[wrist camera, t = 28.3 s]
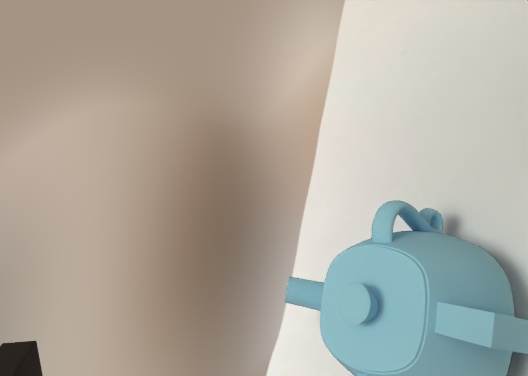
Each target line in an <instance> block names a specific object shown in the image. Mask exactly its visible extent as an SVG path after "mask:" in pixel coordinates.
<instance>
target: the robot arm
mask: <svg viewBox="0 0 528 376" xmlns="http://www.w3.org/2000/svg"><path fill="white" fill-rule="evenodd" d="M0 376H42V371H41V365H40V359H39V354H38V348H37V343H36V341H28V342H15V343H3V344H2V345H1V346H0Z"/></svg>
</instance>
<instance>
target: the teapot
mask: <svg viewBox="0 0 528 376" xmlns="http://www.w3.org/2000/svg"><path fill="white" fill-rule="evenodd" d="M397 214H398V215H399V216H400V217H401V218H402V219H403V220H404V221H405V222H406V223H407V224H408V226H409V227H410V228H411V229H412V230H413V231H401V232H395V233H393V225H394V221H395V218H396V216H397ZM442 230H443V220H442V216H441V214H440V213H439V212H438V211H436V210H434V209H430V208H426V209H423V210H421V211H420V212H418V211H417V210H416V209H415V208H414V207H413V206H411V205H410V204H408V203H406V202H403V201H389V202H387V203H385V204H383V205H382V206H381V207H380V208H379V209H378V211H377V213H376V215H375V217H374V220H373V224H372V238H371V239H368V240H366V241H363V242H361V243H358V244H356V245H354V246H352V247H350V248H348V249H346V250H345V251H343V252H342V253H340V254H339V255H338V256H337V257H336V258H335V259H334V260H333V261H332V263H331V265H330V267H329V269H328V272H327V275H326V279H325V283H322V282H317V281H311V280H305V279H299V278H293V277H289V280H288V285H287V290H286V296H285V302H286V303H291V304H295V305H299V306H303V307H307V308H311V309H316V310H320V329H321V335H322V338H323V341H324V343H325V345H326V347H327V348H328V349H329V351H330V352H331V353H332V355H333V356H334V357H335V358H336V359H337V360H338V361H339V362H340V363H341V364H342V365H343V366H344V367H345V368H346V369H347V370H349V371H350V372H351V373H352V374H353V375H355V376H506V375H507V372H508V368H509V365H510V361H511V356H512V352H518V353H524V354H528V320H526V319H521V318H516V317H515V314H514V303H513V296H512V291H511V286H510V283H509V281H508V278H507V275H506V274H505V272H504V270H503V269H502V267H501V266H500V264H499V263H498V262H497V261H496V260H495V258H494V257H493V256H491V255H490V254H489V253H487V252H486V251H485V250H483V249H482V248H480V247H478V246H476V245H474V244H472V243H470V242H467V241H465V240H462V239H459V238H456V237H453V236H450V235H446V234H441V232H442Z"/></svg>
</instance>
